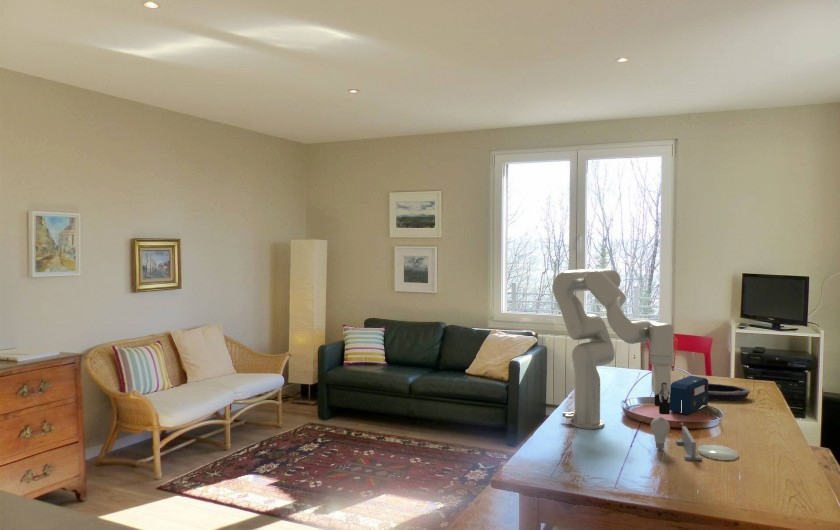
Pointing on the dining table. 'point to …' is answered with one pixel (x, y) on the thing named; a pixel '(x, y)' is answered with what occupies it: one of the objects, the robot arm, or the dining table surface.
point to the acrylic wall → (688, 445)
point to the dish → (726, 392)
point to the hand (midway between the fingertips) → (662, 409)
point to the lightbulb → (660, 431)
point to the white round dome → (717, 452)
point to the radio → (688, 394)
